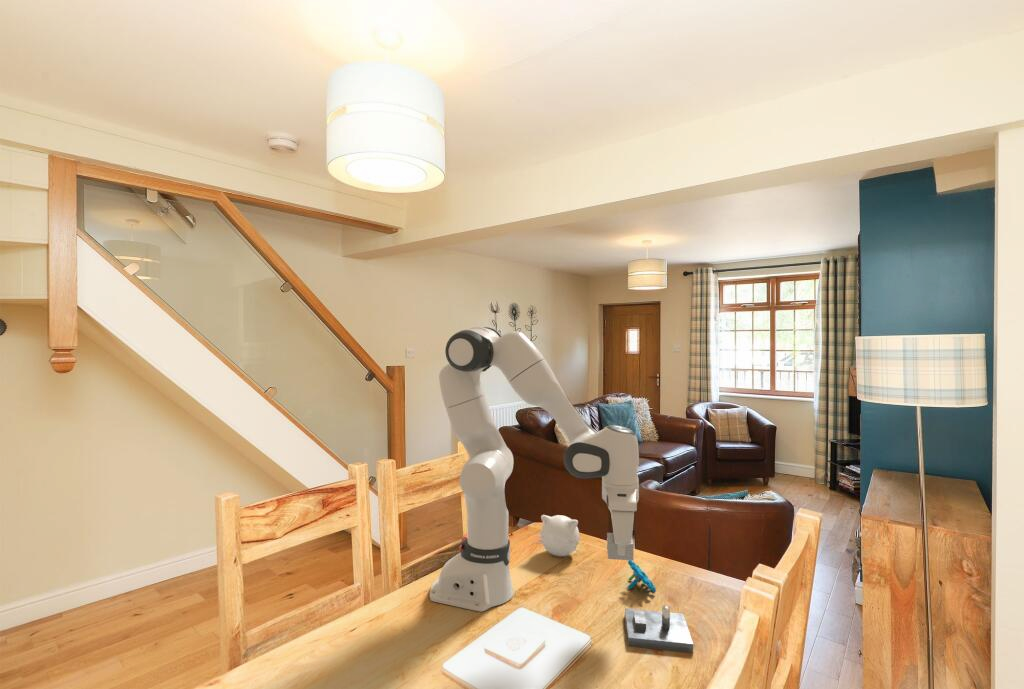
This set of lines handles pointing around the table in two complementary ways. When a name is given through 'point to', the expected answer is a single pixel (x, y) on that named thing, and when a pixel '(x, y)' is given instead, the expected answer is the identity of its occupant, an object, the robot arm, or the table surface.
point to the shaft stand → (658, 630)
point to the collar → (613, 549)
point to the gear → (639, 577)
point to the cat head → (559, 535)
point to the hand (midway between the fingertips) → (620, 547)
